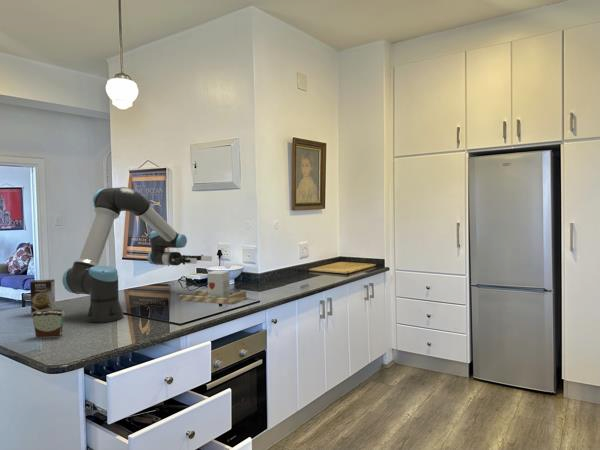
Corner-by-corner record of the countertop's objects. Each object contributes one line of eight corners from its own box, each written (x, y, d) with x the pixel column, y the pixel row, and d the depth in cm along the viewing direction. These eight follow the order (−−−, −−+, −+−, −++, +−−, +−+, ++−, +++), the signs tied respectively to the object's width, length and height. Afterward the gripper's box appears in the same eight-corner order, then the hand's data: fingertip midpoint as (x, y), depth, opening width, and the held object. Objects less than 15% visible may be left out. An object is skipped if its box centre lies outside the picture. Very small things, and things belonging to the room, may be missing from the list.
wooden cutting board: (179, 300, 236) (179, 292, 236) (201, 293, 254) (201, 286, 254) (230, 304, 223) (230, 296, 223) (250, 296, 241) (249, 289, 241)
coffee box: (30, 316, 206) (29, 282, 205) (35, 313, 212) (33, 280, 212) (52, 314, 209) (51, 280, 208) (56, 311, 215) (54, 278, 214)
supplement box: (207, 301, 232) (206, 272, 231) (215, 297, 241) (214, 270, 240) (223, 301, 230) (222, 273, 229) (230, 298, 238) (229, 270, 238)
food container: (71, 332, 178) (70, 307, 178) (64, 336, 172) (63, 311, 172) (40, 333, 178) (39, 308, 177) (31, 337, 172) (30, 312, 171)
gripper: (186, 263, 259) (217, 264, 250) (157, 267, 236) (189, 269, 228) (186, 250, 259) (217, 251, 250) (156, 253, 236) (189, 254, 227)
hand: (204, 259), depth 239 cm, fingers open, 13 cm apart
